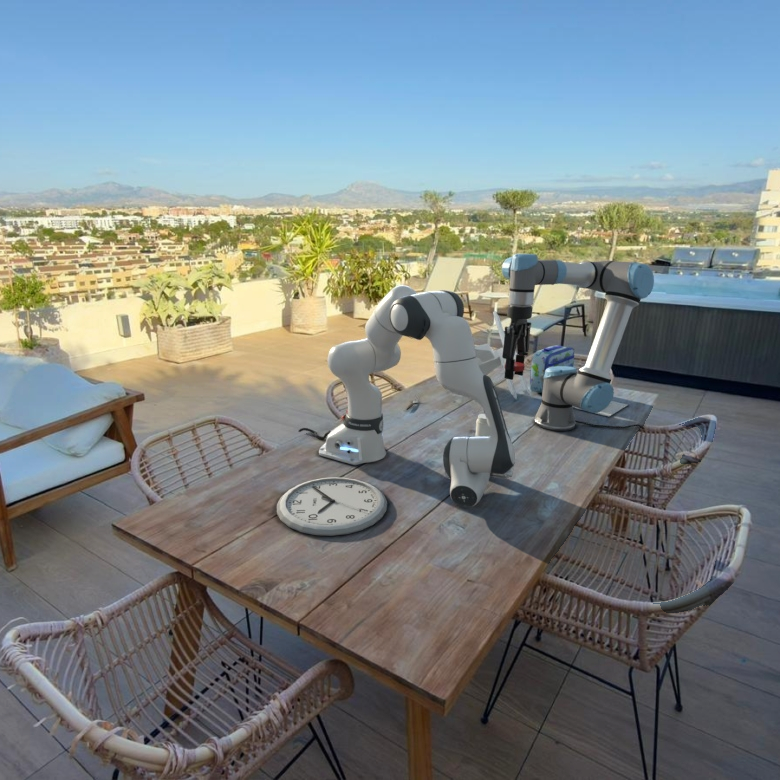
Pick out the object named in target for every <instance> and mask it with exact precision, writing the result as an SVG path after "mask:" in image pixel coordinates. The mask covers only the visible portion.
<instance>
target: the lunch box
mask: <svg viewBox="0 0 780 780" xmlns="http://www.w3.org/2000/svg"><path fill="white" fill-rule="evenodd" d="M574 363H575V348H573V347H571V346H570V347H568V346H563V345H551V346H548V347H544V348H543V349H539V350H536V351H535V352H534V354H533V356H532V358H531V363H530V374H529V391H532V392H536V393H540V394H542V390H543V379H544V374H545V370H546V369H547V368H549V367H555V366H569V367H574Z"/></svg>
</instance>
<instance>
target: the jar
mask: <svg viewBox="0 0 780 780" xmlns="http://www.w3.org/2000/svg"><path fill="white" fill-rule="evenodd" d="M490 435H491V433H490V430H489V426H488V423H487V419H486V416H485V413H480V414H478V415H477V419H476V422H475V436H474V437H476V436H490Z"/></svg>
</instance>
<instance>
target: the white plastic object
mask: <svg viewBox="0 0 780 780" xmlns="http://www.w3.org/2000/svg"><path fill="white" fill-rule="evenodd" d="M492 315H493V319H494V321H495V324H496V325H495V326H496V328H497V332H498V335H499V338H500V342H501V345H502V347H500V348H498V349H496V350H495V349H493V348H492V347H491V346H490V344H489V343H488V342H487V343H483V344H479V345H475V351H476V359H477V363H478V366H479V368H480V370H481V371H482V372H483V374H484V375H486V376H488V375H489V374H490V373H492V372H494V371H495V370H496V369H497V368H499V367H500V366H502V370H503V373H504V374H505V363H506V359H505V358H503V357H502V355H503V347H504V338H505V330H504V328H503V325H502V321H501V318H500V315H499V314H498V312H497V311H496V310H495V311H492ZM516 355H518V351H517V349H516V350H515V354H514V359H515V361H516ZM517 376H518V380H519V382H520V385H521V389H522V391H523V393H524V395H525V396H526V397H528V396H531V395H530V389H529V388H528V387H529V386H528V384H527V381H526V378H525V375H524V374H523V375H522V376H521V375H517ZM505 380H506V383H507V386H508V390H509V393H510V394H511V395H512V397H513V398H514V399H515V400H517V392H516V391H517V390H516V388H515V385H514V381H513V380H510V379H506V378H505Z"/></svg>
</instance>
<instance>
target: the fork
mask: <svg viewBox="0 0 780 780" xmlns="http://www.w3.org/2000/svg"><path fill="white" fill-rule="evenodd" d="M420 399H421V396H420V395H417V394H416V395H415V396H414V398H413V400H412V403H410V404H409V405H408V406H407V407H406V411H408V410H409V409H410V408H412V407H413V406H414V404H418V403H419V402H420Z"/></svg>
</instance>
